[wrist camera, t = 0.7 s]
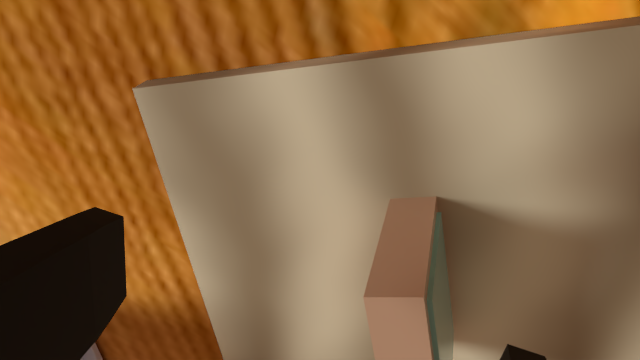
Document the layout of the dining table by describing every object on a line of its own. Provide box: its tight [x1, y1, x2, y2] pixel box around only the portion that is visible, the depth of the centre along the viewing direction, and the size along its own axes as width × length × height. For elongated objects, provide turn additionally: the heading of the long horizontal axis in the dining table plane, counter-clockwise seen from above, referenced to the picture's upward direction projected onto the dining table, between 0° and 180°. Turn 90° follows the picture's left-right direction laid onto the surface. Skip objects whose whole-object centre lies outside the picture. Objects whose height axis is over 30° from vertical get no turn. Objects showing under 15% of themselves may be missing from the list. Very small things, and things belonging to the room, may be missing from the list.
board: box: [133, 17, 640, 360], centre depth 21 cm, size 17×16×1 cm
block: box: [363, 196, 454, 360], centre depth 18 cm, size 2×6×6 cm, turn 11°
